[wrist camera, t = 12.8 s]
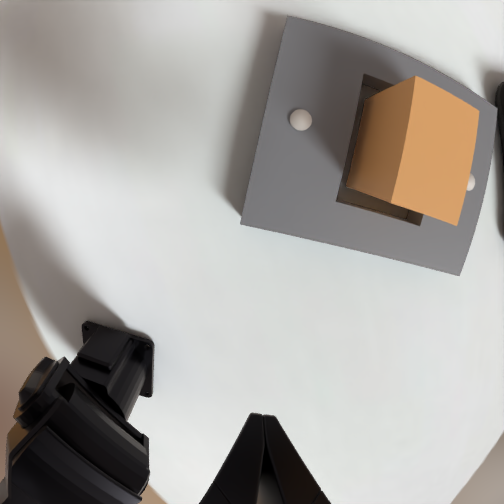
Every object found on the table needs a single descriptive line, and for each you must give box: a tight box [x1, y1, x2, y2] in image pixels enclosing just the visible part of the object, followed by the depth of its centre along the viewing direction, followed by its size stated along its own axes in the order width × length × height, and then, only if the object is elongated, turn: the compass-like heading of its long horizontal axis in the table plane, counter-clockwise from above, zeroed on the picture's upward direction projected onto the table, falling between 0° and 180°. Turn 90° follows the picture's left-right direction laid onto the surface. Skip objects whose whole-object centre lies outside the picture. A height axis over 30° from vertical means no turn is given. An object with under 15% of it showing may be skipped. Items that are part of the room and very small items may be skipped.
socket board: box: [240, 16, 498, 276], centre depth 16 cm, size 13×16×2 cm
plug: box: [346, 75, 479, 226], centre depth 14 cm, size 6×4×7 cm, turn 168°
